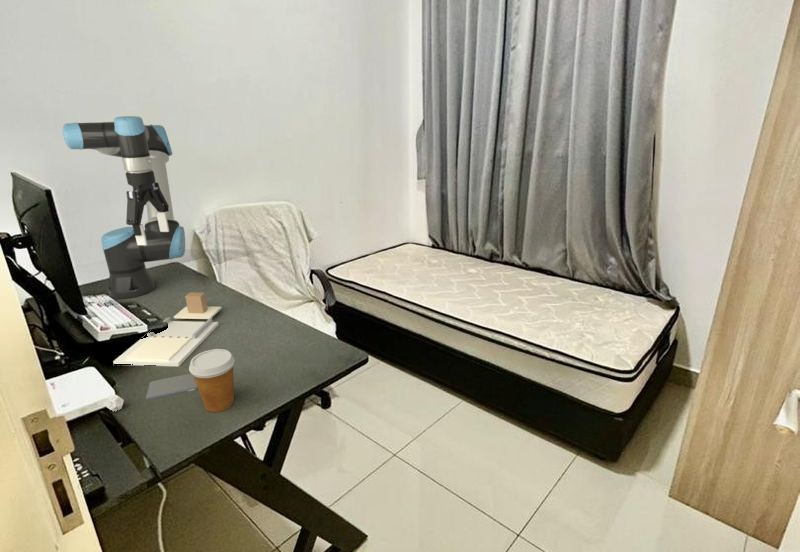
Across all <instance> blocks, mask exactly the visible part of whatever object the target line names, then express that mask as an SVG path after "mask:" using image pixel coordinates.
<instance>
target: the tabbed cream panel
mask: <svg viewBox="0 0 800 552" xmlns="http://www.w3.org/2000/svg"><path fill="white" fill-rule="evenodd" d="M184 298H185V303H186V306H185V307H183V308H182V309H181V310H179V312H178V313H176V314H175V315H173V319H179V320H180V319H189V320H191V319H192V320H208V319H209V318H212V319H213V317H215V315H216V314H218V312H220V310H221V309H222V306H211V305H210V306H208V303H207V298H206V292H193V291H192V292H191V291H190V292H188V293H187V294H186V295H185V296H184Z"/></svg>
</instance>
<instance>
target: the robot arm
mask: <svg viewBox="0 0 800 552" xmlns="http://www.w3.org/2000/svg"><path fill="white" fill-rule="evenodd" d="M62 134H63V139H64V141H65V144H66V146H67V147H68V148H69V149H71V150H80V151H81V150H95V151H97V152H99V153H100V154H102V155H106V156H110V157H111V156H112V157H116V158H117V157H118V158H121V160H122V165H123V169H124V171H125V172H126V173H125V177H126V181H127V185H129V186H131V187H132V190H131V191H130V190H129V191H128V190H127V191H126V198H127V199H126V200H127V203H126V218H125V219H126V222H125V223H126V226H124V227H120V228H116V229H113V230H110V231H108V232H106V233H104V234H103V235H102V236H101V247H102V248H101V249H102V251H103V254H104V257H105V261H106V265H107V269H108V273H109V276H108V286H107V291H108V295H109V297H110V296H111V298H114V299H129V298H135V297H140V296H143V295H145V294H148V293H150V292H152V291H154V290H155V289H156V284H155V280H154V279H153V278H152V276H151V274H150V272H149V270H148V269H147V268H146V264H145V263H150V262H151V263H152V262H157V261H166V260H174V259H178V258H179V259H180V258H182V257H184V255H185V252H186V235H185V234H186V232H185V228H184V226H182V225H180V222H179V221H177V220H176V219H175V217H174V210H173V205H172V198H171V191H170V184H169V178H168V172H167V171H168V170H167V166H166V164H167V163H168V162H169V160H170V157H171V156H172V155H173V150H172V147H171V144H170V140H169V137H168V134H167V131H166V129H165V127H164V126H163V125H161V124H147V125H146V124H144V120H143V118H142V117H140V116H136V115H135V116H133V115H132V116H131V115H130V116H129V115H128V116H117V117H114V119H113V121H106V122H105V121H102V122H70V123H68V122H67V123H64V124H63V126H62ZM145 206H146V212H147V219H148V221H147V222H146V223H145V224H143V223H141V222H142V219H143V215H144V208H145ZM127 225H128V226H127Z"/></svg>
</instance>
